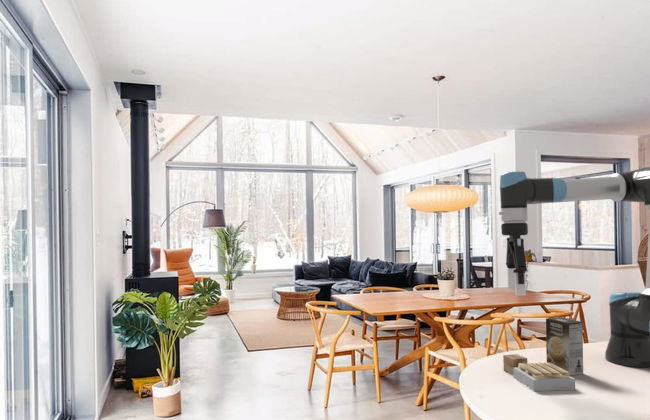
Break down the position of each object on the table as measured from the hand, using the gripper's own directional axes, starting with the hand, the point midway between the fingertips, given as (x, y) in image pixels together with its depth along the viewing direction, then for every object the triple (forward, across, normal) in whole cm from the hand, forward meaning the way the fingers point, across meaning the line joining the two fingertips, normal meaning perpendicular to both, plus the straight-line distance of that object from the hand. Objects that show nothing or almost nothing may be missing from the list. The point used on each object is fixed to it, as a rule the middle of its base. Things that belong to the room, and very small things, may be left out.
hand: (516, 292), depth 147 cm
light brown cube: (+26, -4, 0) cm, 26 cm away
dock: (+26, +5, +6) cm, 27 cm away
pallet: (+22, +5, +6) cm, 24 cm away
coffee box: (+26, -9, +15) cm, 31 cm away
